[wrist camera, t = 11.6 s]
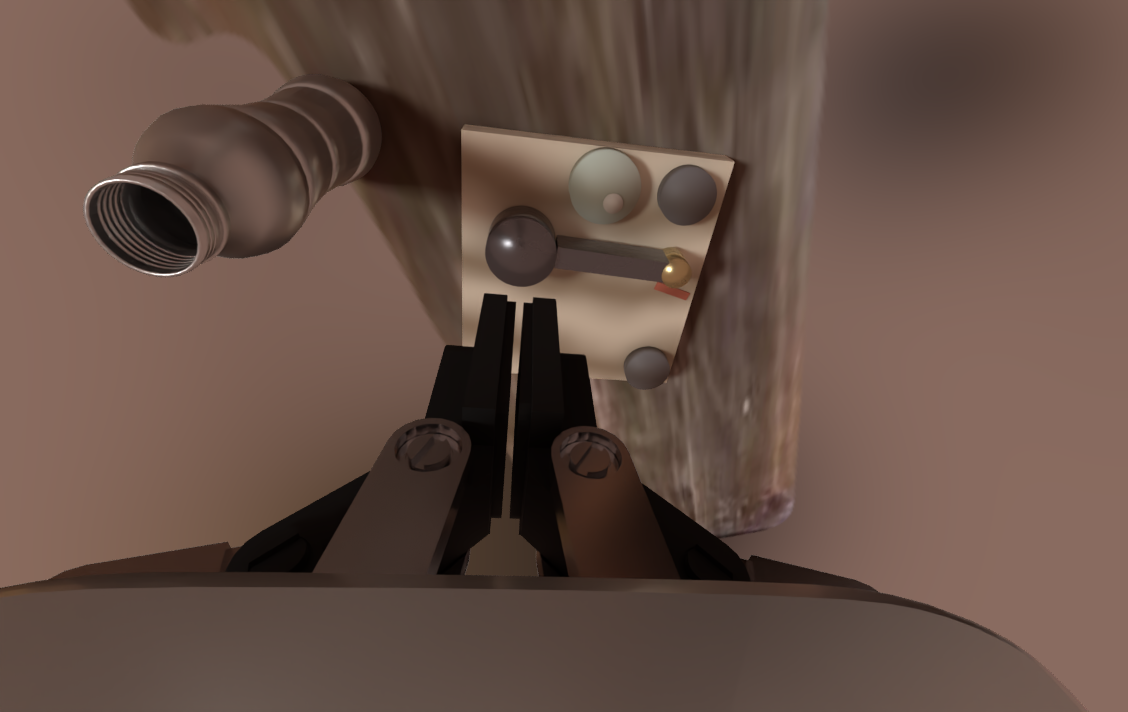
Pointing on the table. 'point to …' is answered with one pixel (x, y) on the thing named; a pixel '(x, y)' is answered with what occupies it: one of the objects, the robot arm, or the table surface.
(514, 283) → the grey lever handle
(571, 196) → the plate
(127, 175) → the plastic bottle
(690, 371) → the table surface
